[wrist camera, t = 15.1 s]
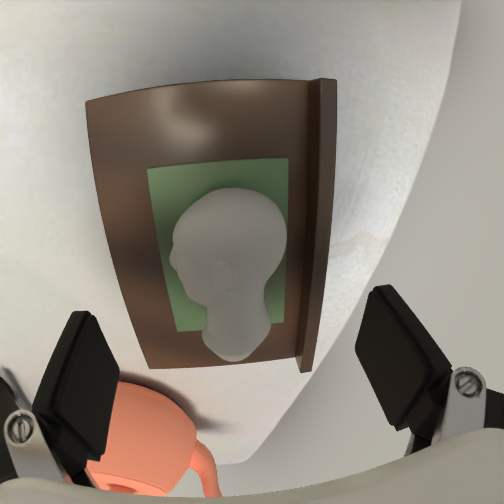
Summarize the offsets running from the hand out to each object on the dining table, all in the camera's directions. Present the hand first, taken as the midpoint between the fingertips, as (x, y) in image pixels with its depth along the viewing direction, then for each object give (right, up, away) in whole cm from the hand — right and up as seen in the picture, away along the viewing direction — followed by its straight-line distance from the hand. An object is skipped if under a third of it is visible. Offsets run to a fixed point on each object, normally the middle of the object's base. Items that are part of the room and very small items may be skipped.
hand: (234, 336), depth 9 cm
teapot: (-13, -16, +20) cm, 28 cm away
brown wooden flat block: (-2, +5, +10) cm, 11 cm away
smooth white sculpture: (-1, +3, +6) cm, 6 cm away
